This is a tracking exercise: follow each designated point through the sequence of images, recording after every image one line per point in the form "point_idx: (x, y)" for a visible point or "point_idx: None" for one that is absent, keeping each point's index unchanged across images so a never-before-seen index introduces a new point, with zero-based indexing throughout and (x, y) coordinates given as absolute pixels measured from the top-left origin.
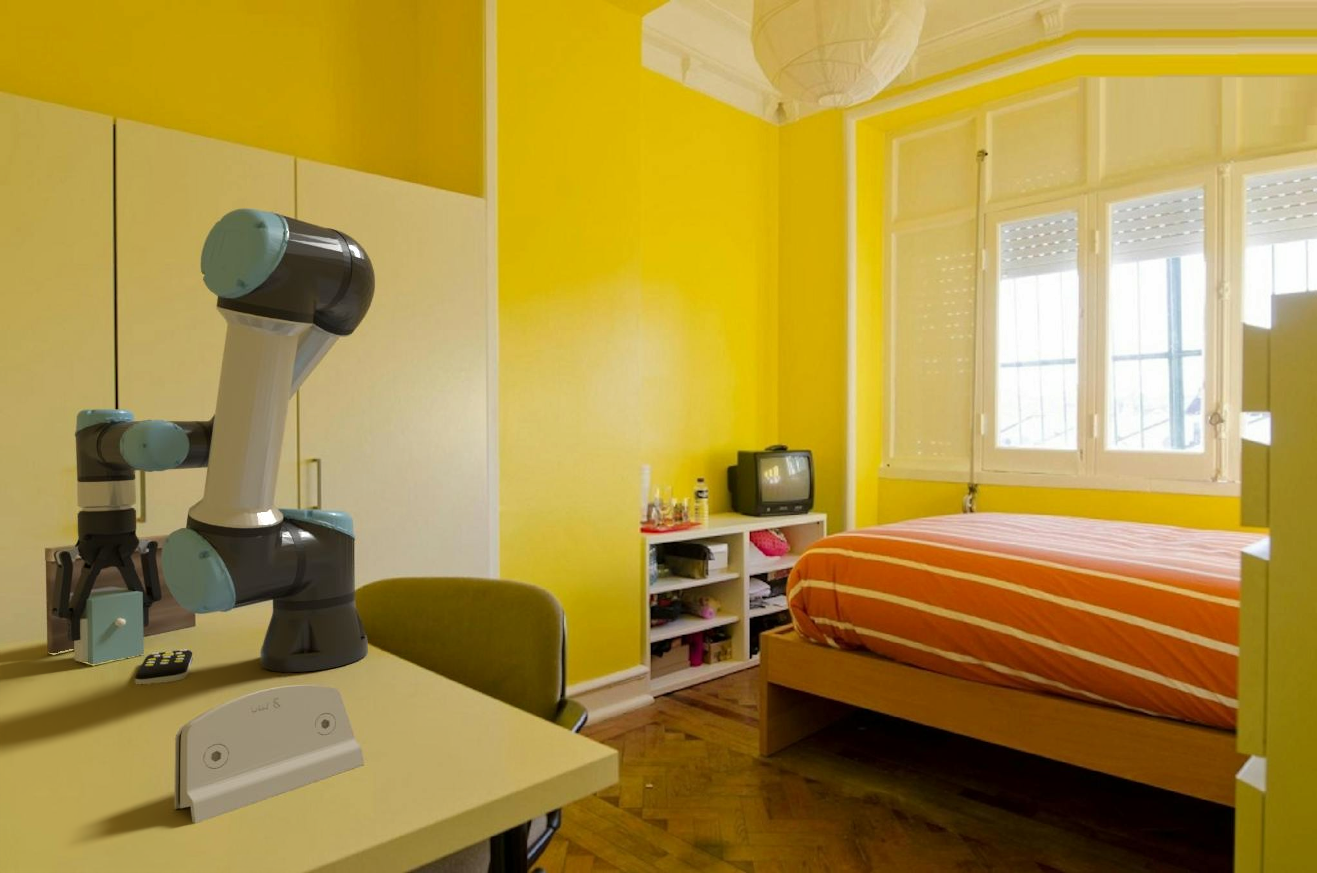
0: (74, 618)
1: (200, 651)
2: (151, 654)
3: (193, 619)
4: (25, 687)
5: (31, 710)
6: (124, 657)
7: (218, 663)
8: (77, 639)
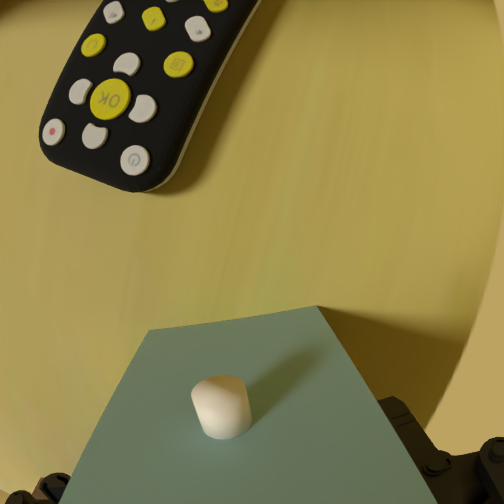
0: (440, 454)
1: (14, 222)
2: (148, 156)
3: (38, 488)
4: (485, 210)
5: (477, 6)
6: (211, 325)
7: (42, 28)
8: (379, 403)
